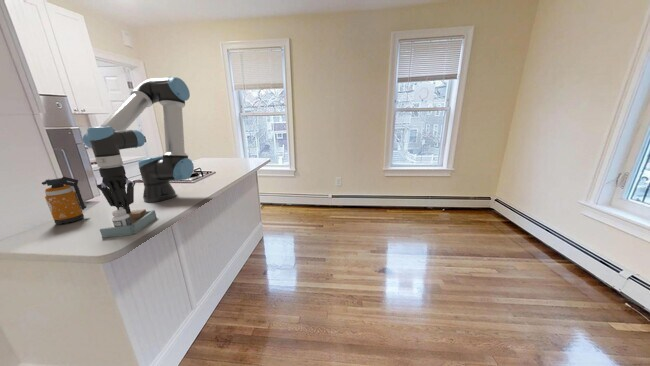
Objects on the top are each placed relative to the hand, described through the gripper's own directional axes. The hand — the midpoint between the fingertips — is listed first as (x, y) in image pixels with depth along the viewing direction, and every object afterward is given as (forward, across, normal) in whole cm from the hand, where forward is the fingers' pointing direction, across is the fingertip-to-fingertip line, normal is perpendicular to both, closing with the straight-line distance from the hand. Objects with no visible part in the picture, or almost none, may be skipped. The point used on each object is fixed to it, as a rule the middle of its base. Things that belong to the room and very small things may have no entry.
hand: (127, 220), depth 98 cm
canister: (+2, -29, +11) cm, 31 cm away
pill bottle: (+2, +4, -8) cm, 9 cm away
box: (+2, +4, -4) cm, 6 cm away
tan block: (+2, +4, 0) cm, 4 cm away
